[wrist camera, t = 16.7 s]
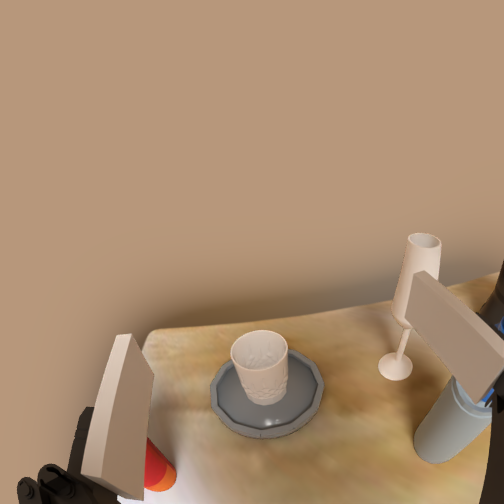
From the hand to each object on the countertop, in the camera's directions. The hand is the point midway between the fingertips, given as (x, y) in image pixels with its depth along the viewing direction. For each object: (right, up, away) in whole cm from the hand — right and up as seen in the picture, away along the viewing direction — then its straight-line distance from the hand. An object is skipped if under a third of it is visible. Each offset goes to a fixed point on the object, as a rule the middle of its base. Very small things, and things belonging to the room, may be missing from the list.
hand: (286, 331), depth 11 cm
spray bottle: (+26, -24, +13) cm, 37 cm away
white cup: (+1, -19, +28) cm, 34 cm away
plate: (+1, -20, +29) cm, 35 cm away
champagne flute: (+24, -17, +28) cm, 40 cm away
